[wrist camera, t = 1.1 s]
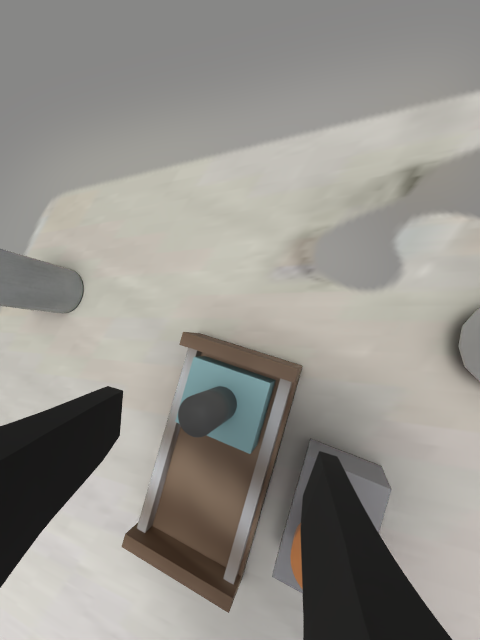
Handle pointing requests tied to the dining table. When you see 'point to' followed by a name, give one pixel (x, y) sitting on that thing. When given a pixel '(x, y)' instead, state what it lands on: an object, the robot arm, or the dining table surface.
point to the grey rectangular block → (366, 484)
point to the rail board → (211, 484)
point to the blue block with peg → (224, 403)
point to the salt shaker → (471, 344)
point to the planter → (37, 284)
